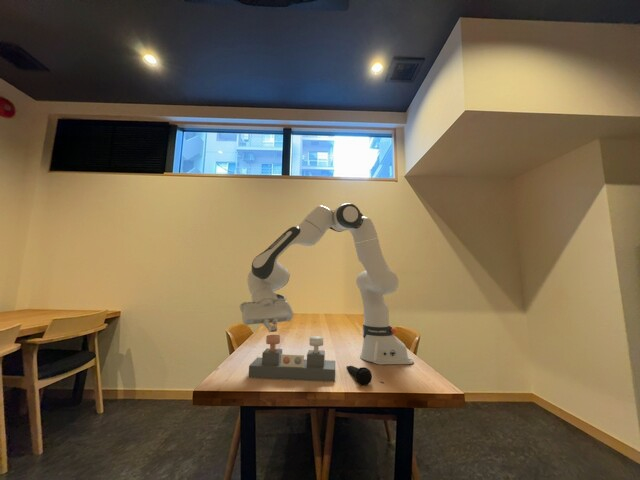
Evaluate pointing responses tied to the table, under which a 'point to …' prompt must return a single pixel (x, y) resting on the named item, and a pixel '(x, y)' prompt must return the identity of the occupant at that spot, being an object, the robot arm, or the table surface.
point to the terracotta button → (272, 341)
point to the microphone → (361, 374)
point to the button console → (293, 366)
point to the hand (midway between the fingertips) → (273, 330)
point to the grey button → (316, 343)
